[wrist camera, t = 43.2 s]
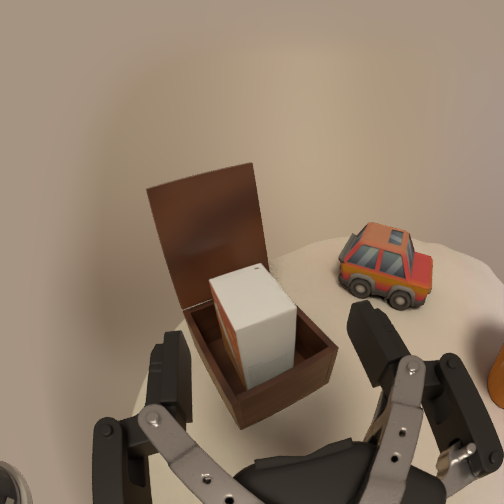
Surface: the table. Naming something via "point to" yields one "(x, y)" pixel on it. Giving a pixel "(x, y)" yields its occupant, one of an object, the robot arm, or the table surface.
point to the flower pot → (497, 380)
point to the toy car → (386, 266)
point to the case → (275, 389)
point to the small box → (255, 323)
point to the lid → (208, 228)
